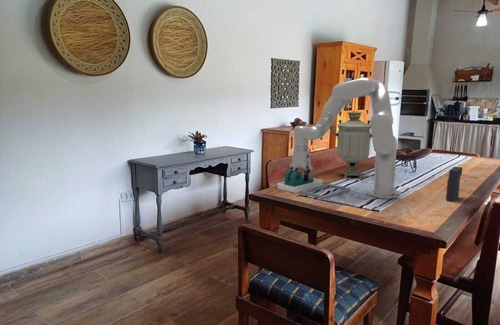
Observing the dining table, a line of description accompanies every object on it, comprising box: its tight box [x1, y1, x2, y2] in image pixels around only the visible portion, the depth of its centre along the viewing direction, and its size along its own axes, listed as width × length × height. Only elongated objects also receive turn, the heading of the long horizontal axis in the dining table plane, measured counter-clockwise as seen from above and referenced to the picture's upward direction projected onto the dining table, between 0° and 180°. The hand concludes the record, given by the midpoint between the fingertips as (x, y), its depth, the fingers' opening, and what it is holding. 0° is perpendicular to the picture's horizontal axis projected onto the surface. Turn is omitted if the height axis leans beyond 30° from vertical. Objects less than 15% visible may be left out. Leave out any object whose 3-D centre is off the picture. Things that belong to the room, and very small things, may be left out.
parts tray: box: [277, 178, 324, 194], centre depth 202 cm, size 13×24×3 cm, turn 132°
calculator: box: [445, 166, 463, 202], centre depth 174 cm, size 11×4×15 cm, turn 141°
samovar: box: [329, 111, 372, 179], centre depth 227 cm, size 30×26×40 cm
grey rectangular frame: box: [301, 183, 352, 200], centre depth 190 cm, size 15×23×2 cm, turn 132°
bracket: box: [284, 169, 315, 187], centre depth 201 cm, size 18×7×8 cm, turn 129°
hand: (300, 179), depth 202 cm, fingers closed on bracket, 7 cm apart
